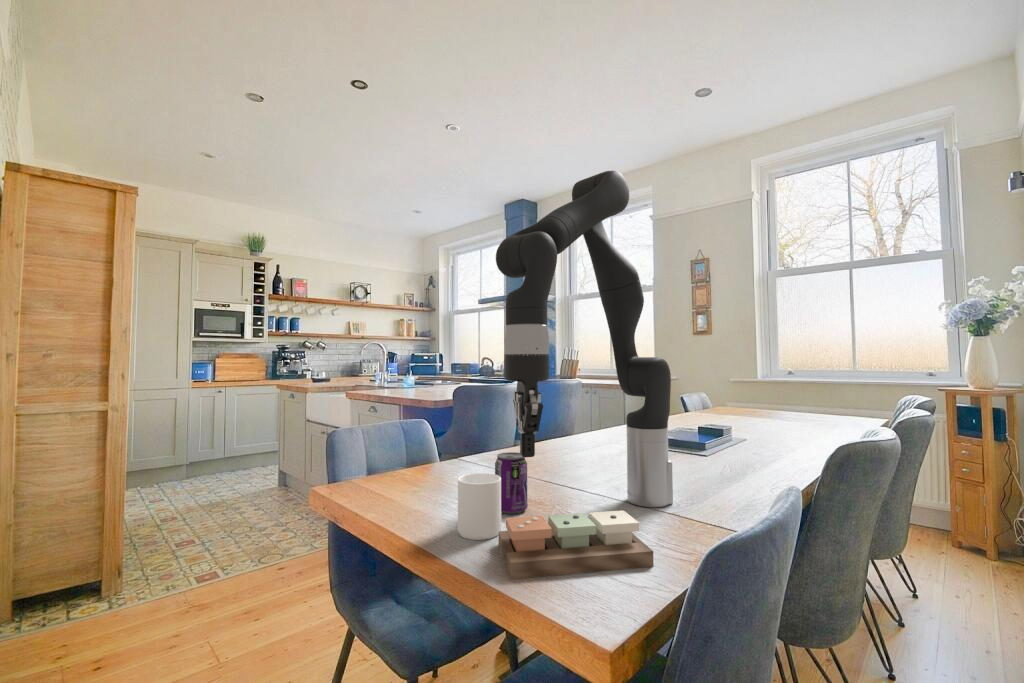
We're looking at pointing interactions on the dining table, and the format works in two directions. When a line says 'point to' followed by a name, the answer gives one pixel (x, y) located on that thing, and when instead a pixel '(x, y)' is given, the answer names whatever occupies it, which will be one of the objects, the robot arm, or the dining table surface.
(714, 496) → the dining table surface
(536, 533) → the key three
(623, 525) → the key one
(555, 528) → the key two
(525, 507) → the beverage can
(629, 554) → the keypad board
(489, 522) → the mug
